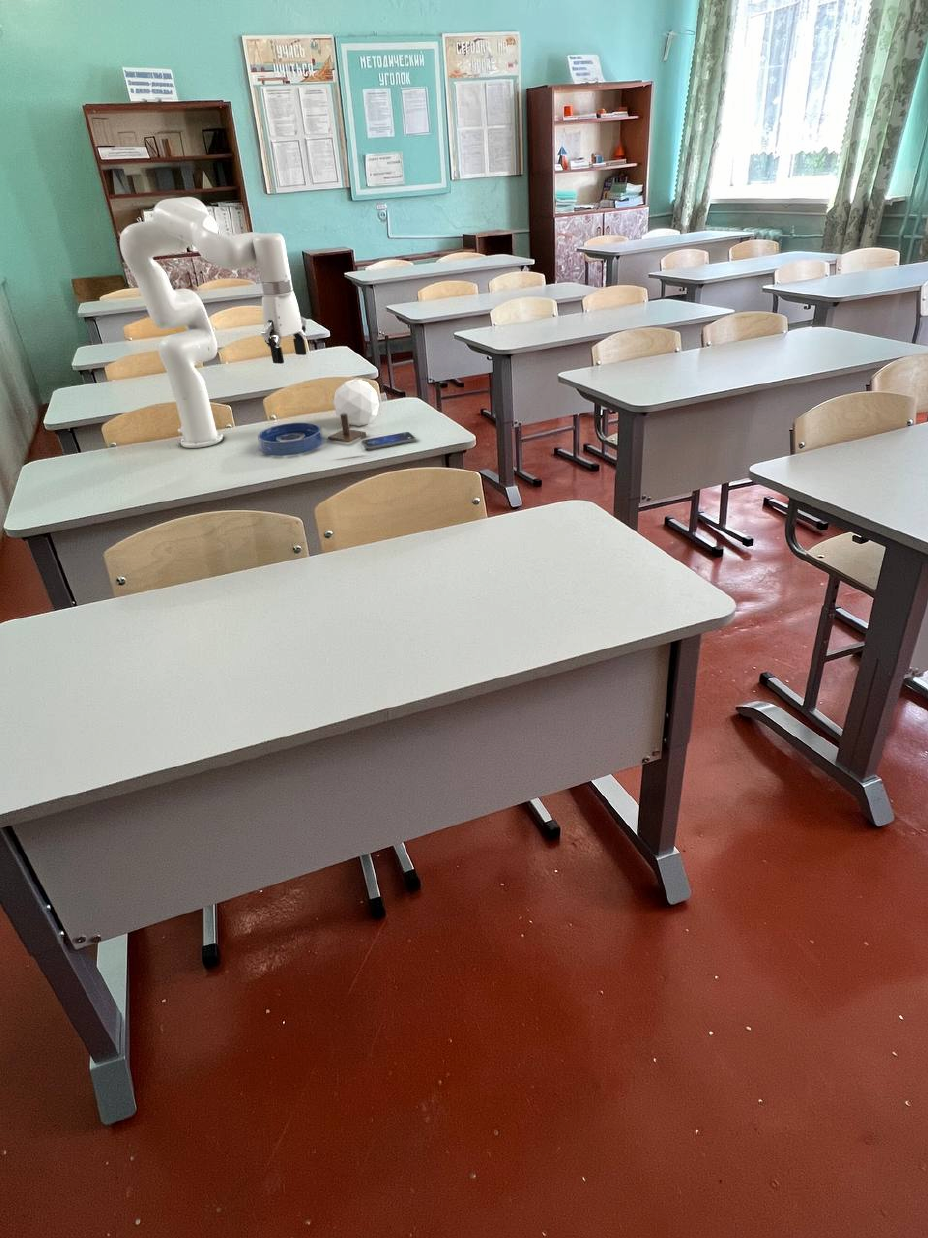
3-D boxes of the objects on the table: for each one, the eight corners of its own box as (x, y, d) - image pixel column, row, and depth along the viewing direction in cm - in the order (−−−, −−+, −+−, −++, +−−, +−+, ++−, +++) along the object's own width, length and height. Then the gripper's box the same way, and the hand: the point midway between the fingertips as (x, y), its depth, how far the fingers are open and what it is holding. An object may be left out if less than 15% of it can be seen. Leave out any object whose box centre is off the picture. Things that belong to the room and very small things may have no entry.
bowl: (247, 453, 220) (244, 437, 218) (291, 434, 233) (288, 419, 230) (293, 461, 211) (290, 445, 209) (336, 441, 224) (333, 426, 222)
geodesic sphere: (346, 395, 244) (331, 366, 231) (388, 395, 242) (376, 365, 228) (338, 435, 239) (322, 407, 226) (381, 435, 236) (368, 406, 223)
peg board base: (328, 441, 224) (324, 416, 220) (345, 433, 230) (342, 409, 226) (349, 444, 220) (345, 419, 216) (366, 436, 226) (363, 411, 222)
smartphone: (417, 438, 219) (367, 447, 214) (417, 441, 219) (367, 451, 215) (408, 431, 224) (360, 440, 220) (409, 434, 225) (360, 443, 220)
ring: (276, 439, 226) (275, 434, 225) (305, 436, 228) (304, 430, 227) (277, 448, 219) (276, 443, 218) (306, 444, 221) (305, 439, 220)
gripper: (286, 282, 198) (298, 350, 207) (243, 294, 185) (257, 366, 194) (309, 282, 195) (320, 351, 204) (267, 294, 182) (281, 367, 191)
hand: (290, 358), depth 199 cm, fingers open, 9 cm apart
